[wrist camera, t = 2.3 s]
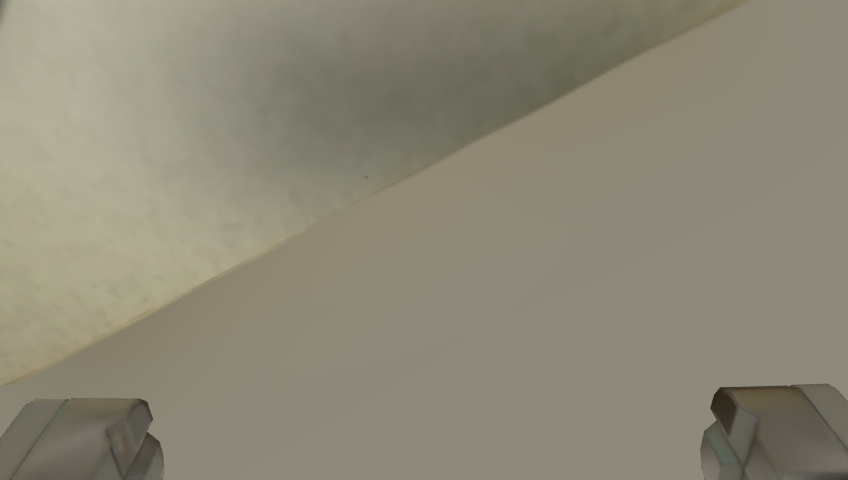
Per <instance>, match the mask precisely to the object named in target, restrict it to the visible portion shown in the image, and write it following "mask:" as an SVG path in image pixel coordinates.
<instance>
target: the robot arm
mask: <svg viewBox="0 0 848 480" xmlns="http://www.w3.org/2000/svg"><path fill="white" fill-rule="evenodd" d="M711 410H712V412H713V414H714V416H715V418H716V420H717V421H716V422H714V423H713V424H712V425H711V426H710V427H709V428H708V429H706V430H705V431H704V435H703V439H702V444H701V449H700V450H701V466H702V470H703V474H704V477H705V480H848V401H847V400H846V399H845V398H844V397H843V395H842V394H841V393H840V392H839V391H838V390H837V389H836V388H834V387H832V386H830V385H829V384H807V385H806V384H805V385H791V386H755V387H752V386H751V387H721V388H719V389H718V391H717V392H716V393H715V394H714V397H713V401H712V405H711ZM152 420H153V417H152V414H151V412H150V409H149V406H148V403H147V402H146V401H144V400H142V399H126V398H121V399H120V398H71V399H35V400H33V401H31V402H29V403H28V404H26V405H25V406H24V407H23V408H22V410H21V411H20V412H19V414H18V415H17V416H16V418H15V419H14V420H13V422H12V423H11V424H10V426H9V427H8V428H7V430H6V431H5V433H4V434H3V435H2V437H1V438H0V480H163V474H164V460H163V452H162V449H161V445H160V442H159V441H158V440H157V439H155V438H154V437H153V436H152V435H150V434H149V433H148V432H147V431H148V429H149V426H150V424H151V422H152Z"/></svg>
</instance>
